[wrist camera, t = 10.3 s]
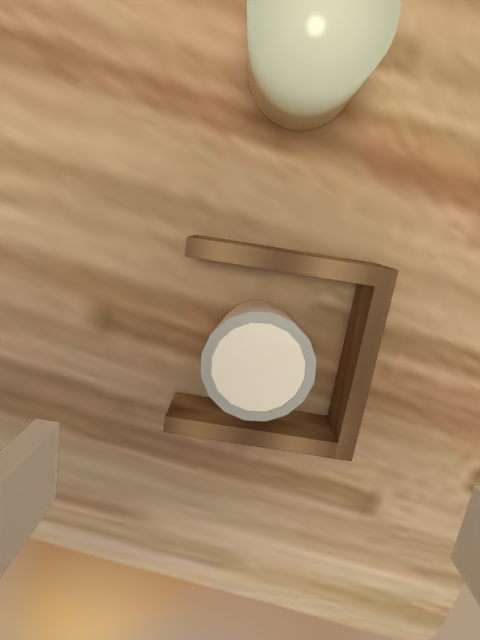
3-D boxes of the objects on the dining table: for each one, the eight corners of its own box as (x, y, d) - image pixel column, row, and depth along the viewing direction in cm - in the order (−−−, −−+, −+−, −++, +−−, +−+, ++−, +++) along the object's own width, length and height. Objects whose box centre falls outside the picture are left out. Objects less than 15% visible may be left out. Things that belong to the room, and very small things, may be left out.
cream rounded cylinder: (240, 121, 27) (236, 81, 20) (258, 2, 26) (260, -95, 18) (344, 138, 27) (380, 104, 20) (367, 20, 26) (418, -69, 18)
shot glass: (247, 272, 30) (246, 287, 23) (321, 327, 30) (341, 358, 24) (193, 345, 31) (176, 379, 24) (265, 396, 32) (269, 443, 25)
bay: (174, 406, 32) (163, 431, 28) (196, 235, 29) (187, 236, 25) (339, 432, 32) (351, 461, 28) (379, 264, 29) (398, 270, 25)
